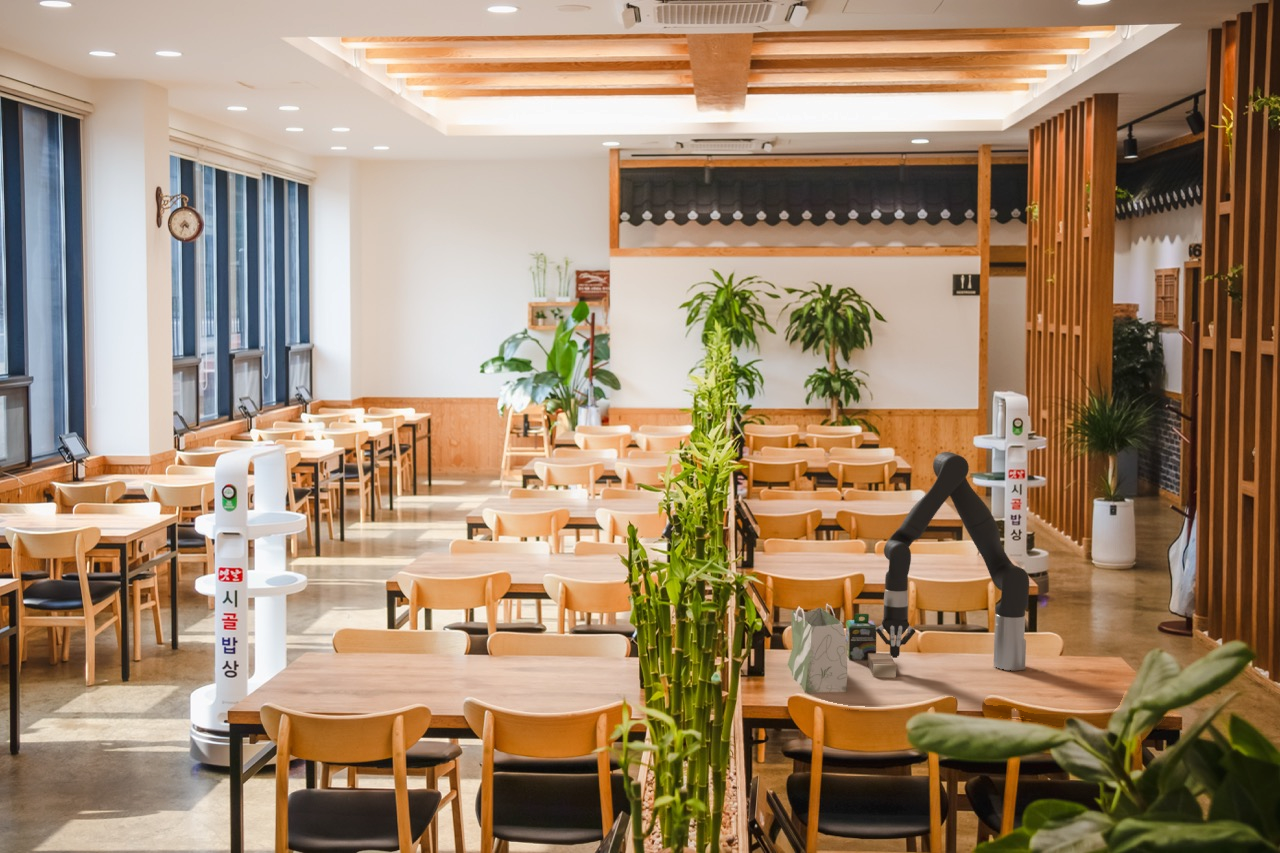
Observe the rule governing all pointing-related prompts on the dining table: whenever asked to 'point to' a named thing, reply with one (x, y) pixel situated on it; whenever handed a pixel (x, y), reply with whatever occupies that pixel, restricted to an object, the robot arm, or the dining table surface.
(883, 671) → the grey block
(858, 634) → the chalk box
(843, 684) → the grocery bag
